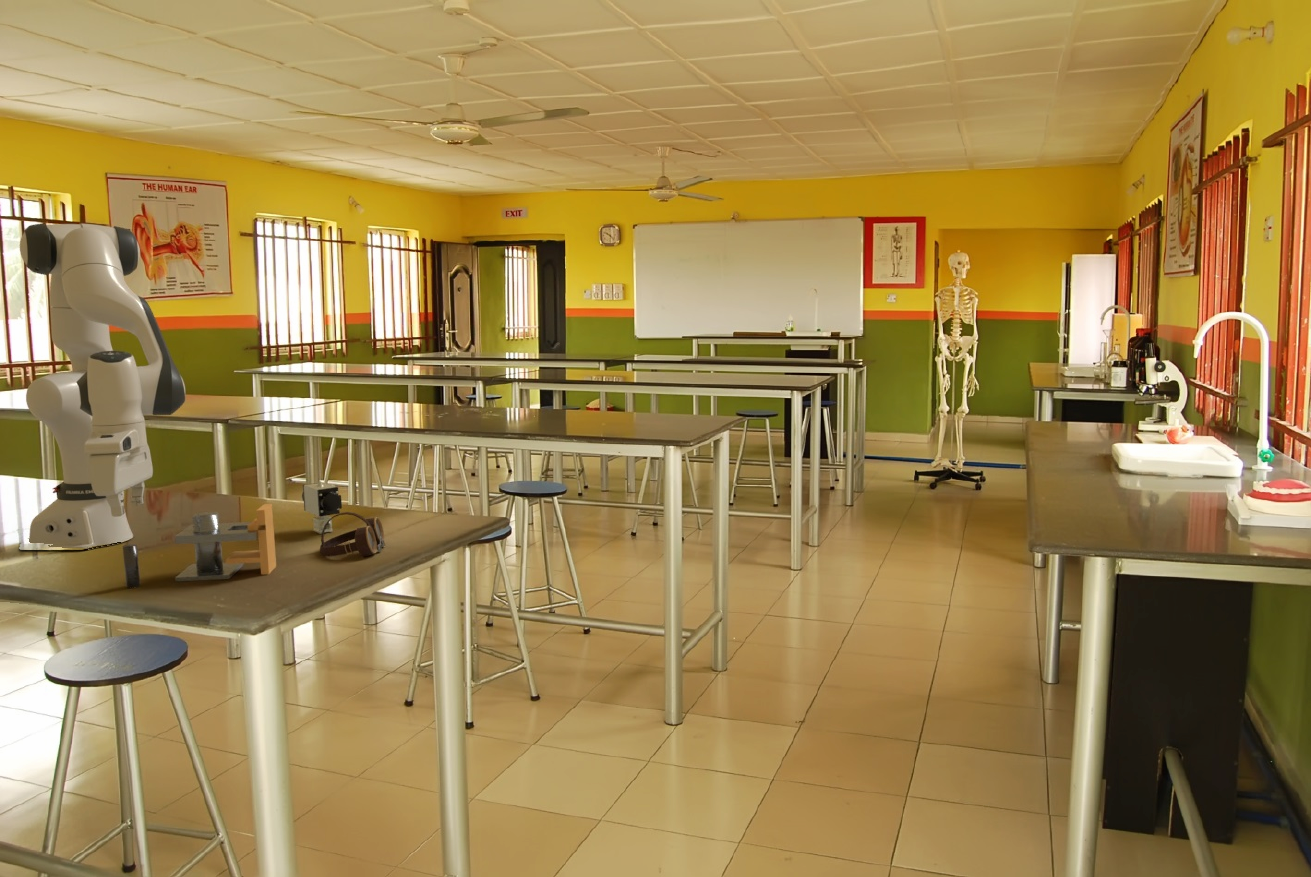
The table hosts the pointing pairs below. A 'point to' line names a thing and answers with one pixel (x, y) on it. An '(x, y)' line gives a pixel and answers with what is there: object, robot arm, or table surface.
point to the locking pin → (131, 565)
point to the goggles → (363, 537)
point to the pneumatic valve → (321, 504)
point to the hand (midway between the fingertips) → (128, 510)
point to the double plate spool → (211, 546)
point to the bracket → (260, 542)
